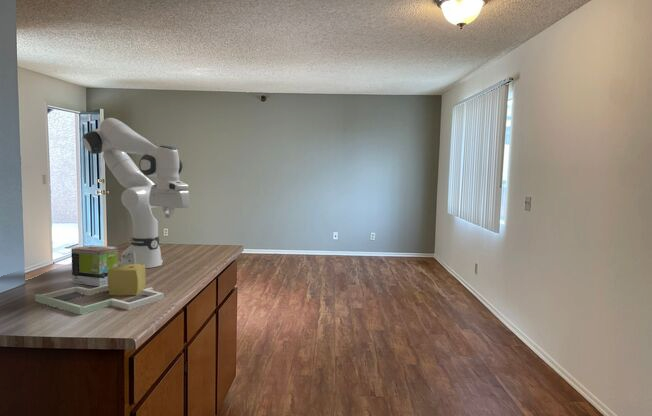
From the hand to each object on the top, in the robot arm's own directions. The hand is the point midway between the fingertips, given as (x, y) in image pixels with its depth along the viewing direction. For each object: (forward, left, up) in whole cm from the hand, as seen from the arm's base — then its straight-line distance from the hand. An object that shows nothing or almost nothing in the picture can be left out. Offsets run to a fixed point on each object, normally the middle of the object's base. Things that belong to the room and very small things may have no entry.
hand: (168, 217), depth 170 cm
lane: (-1, -28, -27) cm, 39 cm away
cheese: (-1, -19, -27) cm, 33 cm away
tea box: (-24, -17, -27) cm, 40 cm away
